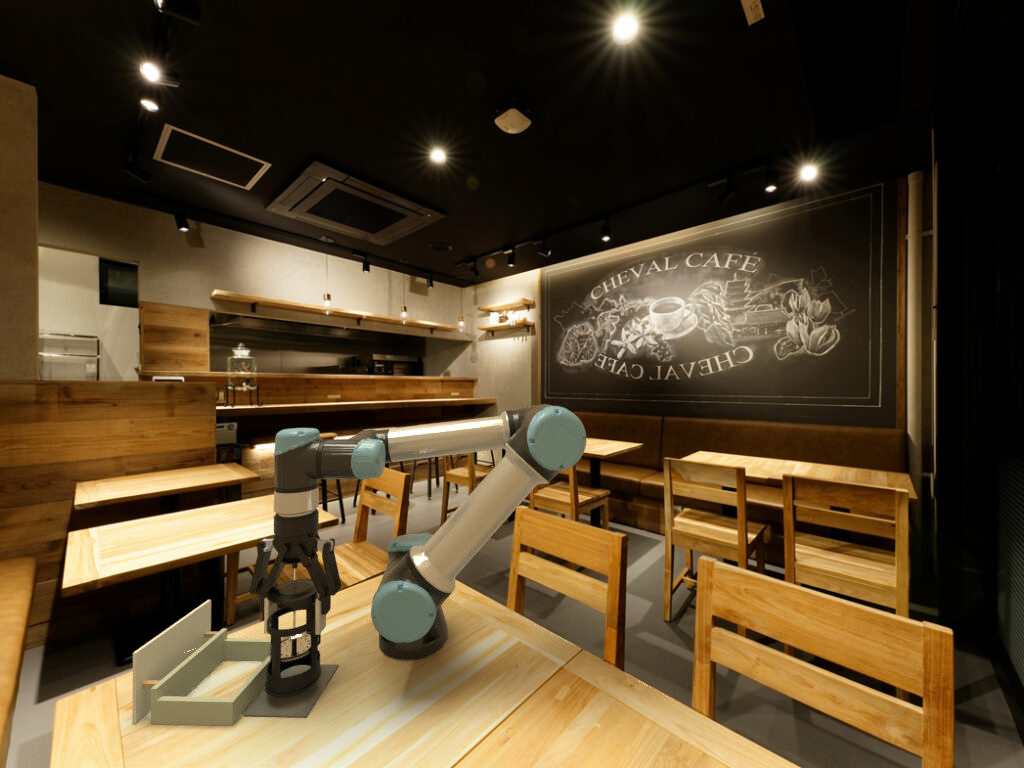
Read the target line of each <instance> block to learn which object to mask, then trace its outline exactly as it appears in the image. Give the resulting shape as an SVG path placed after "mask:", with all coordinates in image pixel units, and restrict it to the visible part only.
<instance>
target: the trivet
mask: <svg viewBox="0 0 1024 768" xmlns="http://www.w3.org/2000/svg"><path fill="white" fill-rule="evenodd" d="M320 666H321V676H320V678H319V680H318V681H317V682H316V683H315V684H314V685H313V686H312V687H310V688H309V689H308V690H306V691H304V692H302V693H300V694H298V695H295V696H291V697H286V698H275V697H272V696H270V695H268V694H267V693H266V691H265V688H263V690H262V691H261V692H260V693H259V694H258V696H257V697H256V698H255V699H254V701H253V702H252V703H251V704H250V705H249V707H248V708H247V709H246V710H245V711H244V713H243V714H242V715H243V717H250V718H251V717H252V718H253V717H255V718H257V717H259V718H262V717H263V718H265V717H266V718H294V719H295V718H299V719H306V718H308V715H310V713H311V711H312V709H313V708H314V706H315V705H316V703H317V702H318V700H319V698H321V695H322V694H323V692H324V690H325V689H326V687H327V686H328V684H329V682H331V679H332V678H333V676H334V674H335V673H336V671H337V669H338V667H339V666H340V664H333V663H331V664H330V663H329V664H328V663H326V664H325V663H320ZM308 669H310V666H308V665H297V666H293V667H290V668H288V669H286V670H284V671H282V672H281V678H287V677H292V676H296V675H299V674H301V673H303V672H305V671H307V670H308Z"/></svg>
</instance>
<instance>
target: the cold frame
mask: <svg viewBox="0 0 1024 768" xmlns="http://www.w3.org/2000/svg"><path fill="white" fill-rule="evenodd" d="M270 647H271V638H246V637H245V638H244V637H243V638H241V637H239V638H238V637H237V638H236V637H228V628H223V627H222V628H221V629H220V630H219V631H212V600H211V599H207V600H206V601H204V602H203V603H201V604H200V605H199V606H198V607H196V608H194V609H193V610H192V611H190V612H189V613H188V614H186V615H185V616H183V617H181V618H180V619H178V621H176V622H174V623H173V624H172V625H170V626H169V627H167V628H166V629H165V630H163V631H161V633H159V634H158V635H156V636H155V637H153V638H152V639H150V640H149V641H147V642H145V644H144V645H142V646H140V647H139V648H138V649H136V650H135V651H134V652H132V706H131V707H132V712H131V713H132V715H131V716H132V718H131V719H132V720H131V721H132V723H131V724H136V725H137V723H139V722H140V721H141V720H142V719H143V718H144V717H145V716H146V715H148V713H150V725H174V726H175V725H176V726H177V725H178V726H179V725H180V726H182V725H183V726H185V725H186V726H220V727H221V726H222V727H223V726H224V727H228V726H229V727H233V726H234V725H235V723H236V722H237V721H238V720H239V719H240V718H241V716H242V715H243V714H244V713H245V712H246V711H247V710H248V708H249V707H250V706H251V705H252V703H253V702H254V701H255V700H256V699H257V697H258V696H259V695H260V694H261V693H262V691H263V690H264V689H265V683H266V669H267V666H268V664H269V662H270V661H271V658H270V656H269V654H268V650H269V648H270ZM195 648H196V649H195ZM192 649H194V650H192ZM189 650H191V651H189ZM187 651H189V652H187ZM184 652H185V653H184ZM223 661H237V662H238V661H243V662H244V661H245V662H246V661H247V662H248V661H250V662H262V663H261V664H260V665H259V666H258V667H257V668H256V670H254V671H253V673H252V674H250V676H249V677H248V678H247V679H246V680H245V682H243V684H242V685H241V686H240V687H239V688H238V689H237V690H236V691H235V692H234V693H233V695H232V696H231V697H226V696H225V697H224V696H223V697H222V696H221V697H218V696H215V697H214V696H188V695H189V694H190V693H191V692H192V691H193V690H194V689H195V688H196V687H197V686H198V685H199V684H200V683H201V682H202V681H203V680H204V679H206V677H208V675H210V674H211V673H212V672H213V671H214V670H215V669H217V667H218V666H219V665H220V664H222V663H223Z"/></svg>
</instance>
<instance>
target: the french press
mask: <svg viewBox="0 0 1024 768" xmlns="http://www.w3.org/2000/svg"><path fill="white" fill-rule="evenodd" d="M282 563H284V564H285V565H291V569H293V579H291V580H288V581H285V582H282V583H279V584H277V585H275V586H274V588H272V589H271V590H270V591H269V592H268V594H267V599H268V601H269V602H270V606H271V605H272V604H273V603H275V604H277V605H284V606H285V607H281V608H280V609H277V611H276V612H274V613H273V614H272V615H271V616H270V617H269V618H268V620H267V632H268V634H267V635H270V639H271V647H270V648H269V650H268V654H269V656H270V658H271V661H270V662H269V664H268V666H267V669H266V683H265V687H264V689H265V691H266V693H267V694H268V695H270V696H272V697H275V698H286V697H291V696H295V695H298V694H300V693H302V692H304V691H306V690H308V689H309V688H310V687H312V686H313V685H314V684H315V683H316V682H317V681H318V680H319V678H320V676H321V666H320V664H321V652H320V650H319V646H320V644H321V642H322V641H321V637H322V635H321V633H322V632H321V633H320V634H319V635H315V603H316V599H317V598H318V597H319V594H318V592H317V590H316V588H315V586H314V583H313V581H312V579H311V578H306V577H305V578H297V569H298V564H302V562H301V560H300V559H295V558H290V559H284V560H283V561H282ZM297 611H305V615H306V617H305V624H303V625H300V626H296V618H297V617H296V615H297V614H296V613H297ZM292 612H293V613H292ZM289 613H292V614H293V615H292V616H293V617H292V619H293V620H292V621H293V622H292V623H293V624H292V626H293V627H292V628H286V629H285V628H283V629H281V628H280V627H279V626H280V625H279V623H280V620H279V618H280V617H282V616H284V615H286V614H289ZM270 623H271V627H270V626H269V625H270ZM297 665H308V666H310V669H308V670H307V671H305V672H303V673H301V674H299V675H296V676H292V677H287V678H281V672H282V671H284V670H286V669H288V668H290V667H293V666H297Z"/></svg>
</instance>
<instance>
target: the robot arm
mask: <svg viewBox="0 0 1024 768" xmlns="http://www.w3.org/2000/svg"><path fill="white" fill-rule="evenodd" d="M274 441H275V442H274V453H273V457H274V458H273V459H274V462H273V463H274V467H273V470H274V473H273V474H274V487H273V488H274V491H273V512H274V513H275V514H274V516H273V534H274V537H273V538H270V537H265V538H263V539H262V540H260V541H258V542H257V544H256V549H257V550H256V552H257V556H256V561H255V565H254V569H253V574H252V578H251V581H250V587H249V591H248V593H250V595H258V597H259V599H260V607H259V609H260V613H261V614H263V615H264V616H263V619H264V621H263V624H264V625H263V628H264V629H263V632H264V633H263V635H264V634H266V635H269V634H268V632H267V620H268V618H269V617H270V616H271V615H272V614H273V613H274V612H276V611H277V610H278V607H277V606H278V604H275V603H273V604H272V605H271V606H270V602H269V601H268V599H267V594H268V592H269V591H270V590H271V589H272V588H274V587H275V586H276V584H277V582H278V580H279V578H280V576H281V575H282V572H283V570H284V568H285V566H286V564H284V563H282V561H283V560H284V559H290V558H295V559H300V560H301V564H302V567H304V568H305V569H306V571H307V572H308V575H309V577H310V579H312V581H313V583H314V586H315V588H316V590H317V592H318V598H317V599H316V603H315V635H319V634H320V633H322V632H323V630H325V629H326V627H327V614H328V613H329V612H330V610H331V606H332V605H331V603H332V601H331V600H332V596H335V595H336V594H337V593H338V592H339V591H340V590H341V588H342V582H341V579H340V573H339V568H338V564H337V560H336V554H335V547H336V540H335V538H333V537H332V538H329V539H322V538H321V537H320V534H319V533H318V532H319V524H320V523H319V520H320V519H319V515H320V513H319V512H320V510H318V509H317V508H319V506H320V503H319V501H320V496H319V495H320V494H319V493H320V490H319V487H320V480H361V481H362V480H366V479H367V480H368V479H377V478H380V477H381V476H382V475H383V473H384V469H385V468H386V467H385V465H386V464H389V463H396V462H405V461H412V460H419V459H420V460H421V459H428V458H436V457H437V458H438V457H444V456H445V457H447V456H453V455H461V454H470V453H471V454H472V453H479V452H485V451H495V450H505V454H504V456H503V457H502V458H501V460H500V461H499V462H498V463H497V464H496V465H495V466H494V467H493V468H492V469H491V471H490V472H489V473H488V474H487V475H486V476H485V477H484V478H483V480H482V481H481V482H480V483H479V484H477V486H476V487H475V489H473V491H471V493H470V494H469V495H468V496H467V497H466V498H465V499H464V501H462V502H461V504H460V505H459V506H458V507H457V508H456V510H454V511H453V513H452V514H451V515H450V516H449V517H448V518H447V520H445V522H444V523H443V524H442V525H441V526H440V527H439V528H438V529H437V530H436V532H435V533H434V534H430V533H408V534H407V533H406V534H403V535H399V536H396V537H393V538H392V539H390V540H389V542H388V547H387V550H386V552H387V564H386V568H385V571H384V572H383V575H382V578H381V580H380V582H379V585H378V587H377V589H376V591H375V593H374V595H373V597H372V601H371V607H370V617H371V621H372V624H373V627H374V629H375V630H376V631H377V633H378V647H379V650H380V651H381V653H383V654H384V655H385V656H387V657H388V658H391V659H395V660H400V661H411V660H418V659H419V660H420V659H422V658H425V657H428V656H430V655H432V654H434V653H436V652H437V651H438V650H440V649H442V647H443V645H445V643H446V642H447V638H448V622H447V620H446V616H445V613H444V611H443V608H442V605H443V604H444V603H445V601H446V600H447V599H449V597H450V595H452V593H454V591H456V577H457V576H458V574H460V573H461V571H462V570H463V569H465V567H466V566H467V564H468V563H469V562H470V561H471V560H472V559H473V557H474V556H475V555H476V554H477V553H478V552H479V551H480V550H481V549H482V548H483V547H484V545H485V544H486V543H487V542H488V541H489V539H491V537H492V536H493V535H494V534H495V533H496V532H497V530H498V529H500V527H502V525H503V524H504V522H506V520H507V519H508V518H509V517H510V516H511V515H512V514H513V512H514V511H515V510H516V509H517V508H518V507H519V506H520V505H521V503H522V502H523V501H524V500H525V499H526V498H527V497H528V495H529V494H530V493H531V492H532V491H534V490H533V489H534V488H536V487H537V486H538V485H546V484H547V485H548V484H550V482H551V481H552V480H553V479H554V478H555V477H556V476H557V475H558V473H559V472H560V471H565V470H567V469H569V468H572V467H573V466H575V465H576V464H577V463H578V462H579V461H580V460H581V458H582V456H584V453H585V451H586V446H587V433H586V429H585V426H584V424H583V422H582V421H581V419H580V418H579V417H578V416H577V415H576V414H575V413H573V412H572V411H570V410H569V409H568V408H566V407H564V406H561V405H560V406H559V405H552V404H548V403H539V404H533V405H530V406H525V407H521V408H517V409H511V410H504V411H502V413H501V414H500V415H496V416H489V417H480V418H472V419H471V418H470V419H461V420H455V421H454V420H453V421H445V422H435V423H428V424H420V425H419V424H418V425H410V426H399V427H390V428H384V429H374V428H371V429H370V428H369V429H365V430H361V431H360V432H358V433H357V434H356V435H354V436H351V437H350V438H349V437H348V438H344V439H343V438H342V439H341V438H340V439H339V438H338V439H326V438H322V437H321V436H320V430H319V429H317V428H314V427H295V428H293V427H292V428H285V429H282V430H280V431H278V432H277V433H276V434H275V440H274ZM273 548H274V549H275V550H276V553H277V556H276V558H274V559H275V560H274V561H273V565H272V568H271V569H270V571H269V573H268V568H269V564H270V559H271V554H272V550H273ZM317 548H319V552H320V554H321V558H322V564H321V563H320V560H319V555H318V553H317V550H316V549H317ZM322 565H323V567H322ZM323 568H324V569H323ZM267 573H268V575H267ZM266 576H267V578H266ZM269 626H270V627H271V623H270V625H269Z"/></svg>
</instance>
